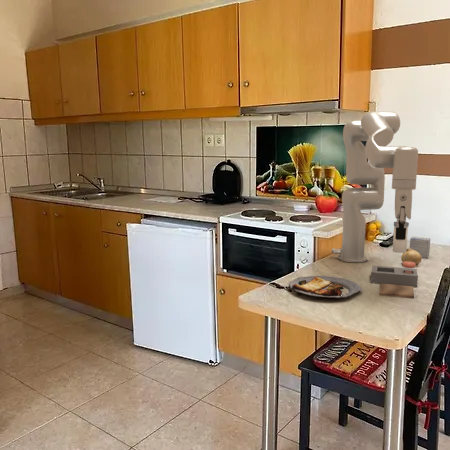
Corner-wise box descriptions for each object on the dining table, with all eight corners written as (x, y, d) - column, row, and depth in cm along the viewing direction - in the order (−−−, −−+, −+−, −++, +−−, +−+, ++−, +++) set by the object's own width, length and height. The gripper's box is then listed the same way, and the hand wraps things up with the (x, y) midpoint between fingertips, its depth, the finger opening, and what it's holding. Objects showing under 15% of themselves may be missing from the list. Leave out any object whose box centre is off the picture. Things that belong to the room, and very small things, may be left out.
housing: (370, 282, 174) (371, 272, 173) (371, 275, 183) (372, 265, 183) (417, 286, 169) (417, 276, 168) (415, 279, 178) (416, 269, 177)
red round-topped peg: (401, 281, 173) (402, 263, 172) (401, 277, 177) (402, 260, 176) (414, 282, 172) (415, 264, 170) (413, 279, 176) (415, 261, 174)
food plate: (335, 307, 148) (336, 296, 148) (275, 292, 164) (276, 282, 163) (371, 290, 166) (371, 281, 166) (314, 278, 182) (314, 269, 181)
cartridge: (391, 252, 160) (393, 223, 158) (391, 249, 164) (393, 221, 162) (407, 253, 158) (409, 224, 156) (406, 250, 163) (408, 221, 161)
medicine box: (429, 256, 212) (430, 238, 211) (427, 258, 209) (429, 239, 207) (410, 254, 216) (412, 236, 215) (408, 256, 213) (410, 237, 211)
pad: (379, 294, 160) (379, 292, 160) (380, 285, 171) (380, 283, 170) (414, 298, 157) (414, 296, 157) (412, 288, 167) (413, 286, 167)
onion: (417, 262, 202) (419, 246, 201) (423, 267, 195) (424, 251, 193) (398, 262, 203) (399, 246, 202) (403, 267, 195) (404, 250, 194)
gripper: (417, 187, 148) (413, 243, 151) (414, 182, 164) (411, 234, 167) (391, 186, 150) (388, 242, 154) (391, 182, 166) (388, 232, 169)
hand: (400, 237), depth 160 cm, fingers closed on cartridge, 4 cm apart
